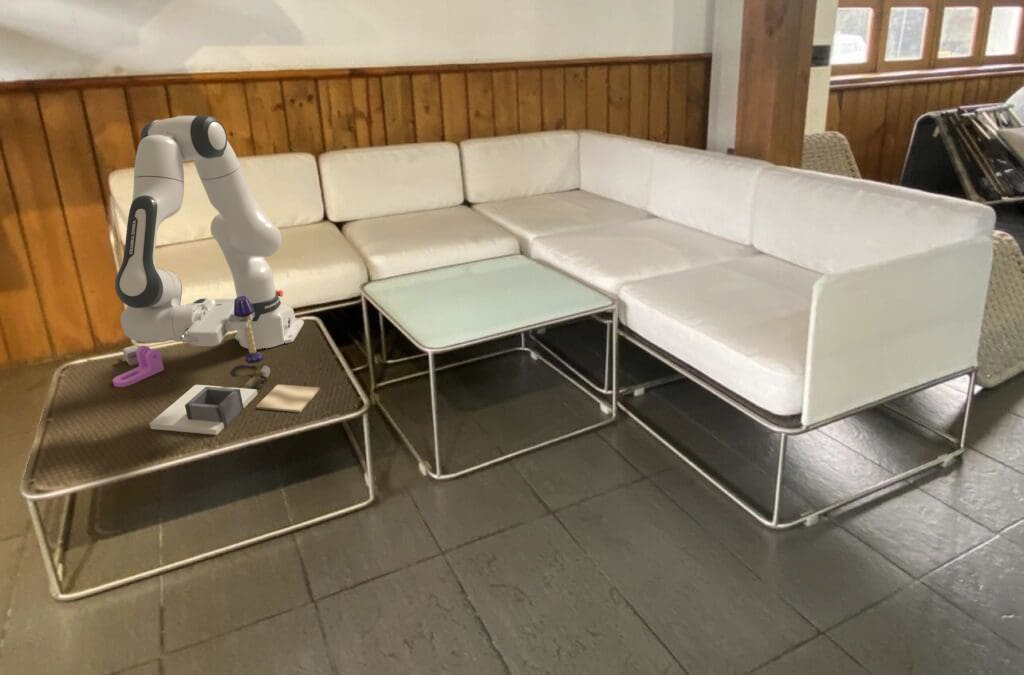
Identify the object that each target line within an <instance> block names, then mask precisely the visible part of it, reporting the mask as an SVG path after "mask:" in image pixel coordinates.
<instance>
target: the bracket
mask: <svg viewBox="0 0 1024 675" xmlns="http://www.w3.org/2000/svg"><path fill="white" fill-rule="evenodd" d="M136 355H137V359H138V363H139V364H138V366H137V367H135V368H132V369H131V370H128V371H126V372H124V373H122V374H119V375H117V376H114V378H113V379H112V383H113V386H114V387H117V388H125V387H129V386H131V385H134V384H136V383H139V382H140V381H143V380H145V379H147V378H150V377H151V376H153V375H156V374H159V373H160V372H162V370H163V371H164V370H165V367H164V363H163V359H162V354H161V352H160V351H159V350H157V349H155V348H150V347H149V346H147V345H140V346H139V347H138V349H137V351H136ZM142 379H143V380H142Z"/></svg>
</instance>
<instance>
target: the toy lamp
mask: <svg viewBox="0 0 1024 675" xmlns="http://www.w3.org/2000/svg"><path fill="white" fill-rule="evenodd" d="M234 299H235V302H234V315H235V316H237V317H241V318H242V319H247V320H248V323H249V325H248V327H247V328H244V330H245V335H246V340H247V342H248V343H247V345H248V347H249V349H248V353H247V354H246V356H245V360H244V361H245V362H246V363H248V364H256V363H257V364H258V362H260V363H261V361H263V360H264V356H263V354H262V353H261V352H259V351H257V349H256V348H255V343H254V337H253V332H252V330H251V329H252V327H251V325H250V320H249V315H251V314H253V313H254V309H253V307H252V305H251V303H250V301H249V299H248V298H247V297H246V296H240V297H237V296H236V298H234Z"/></svg>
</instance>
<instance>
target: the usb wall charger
mask: <svg viewBox="0 0 1024 675" xmlns="http://www.w3.org/2000/svg"><path fill="white" fill-rule="evenodd" d="M138 348H139V347H138V345H131V346H128V347H124V348H123V349H122V353H123V356H124V360H125V361H126V363H127V364H128V365H129V366H134V364H135V365H138V364H137V363H138V359H137V355H136V351H137V349H138Z"/></svg>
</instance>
